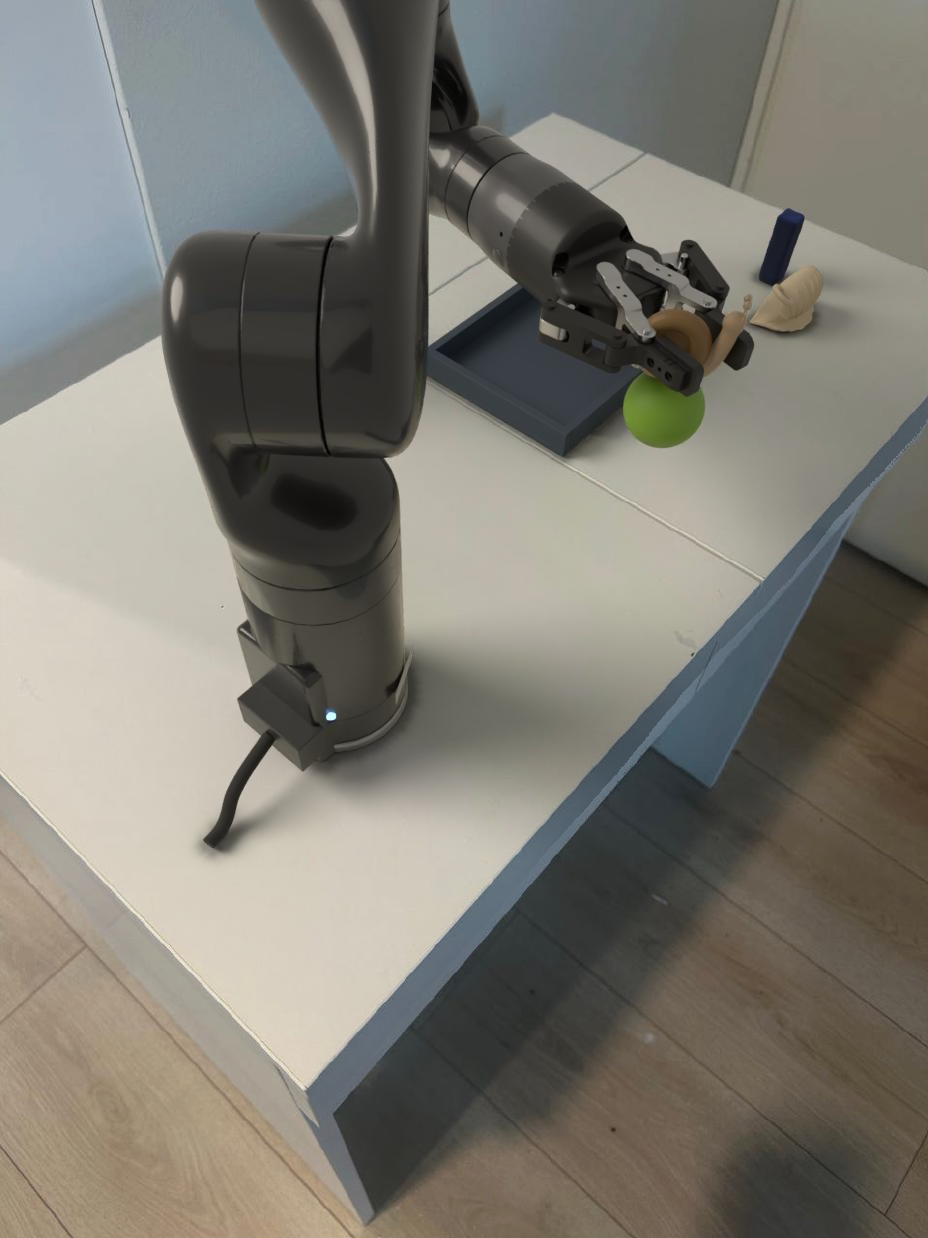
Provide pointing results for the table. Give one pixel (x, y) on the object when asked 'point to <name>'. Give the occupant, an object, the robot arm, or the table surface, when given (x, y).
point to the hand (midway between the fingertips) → (722, 369)
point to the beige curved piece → (791, 301)
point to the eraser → (781, 246)
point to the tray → (526, 374)
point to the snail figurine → (669, 413)
